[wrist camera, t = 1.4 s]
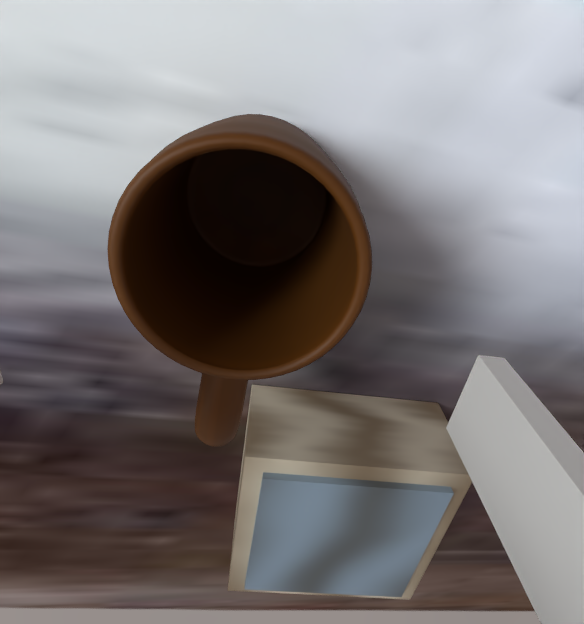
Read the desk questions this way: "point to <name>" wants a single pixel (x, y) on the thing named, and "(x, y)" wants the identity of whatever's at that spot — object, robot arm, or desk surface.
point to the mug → (240, 258)
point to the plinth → (342, 494)
